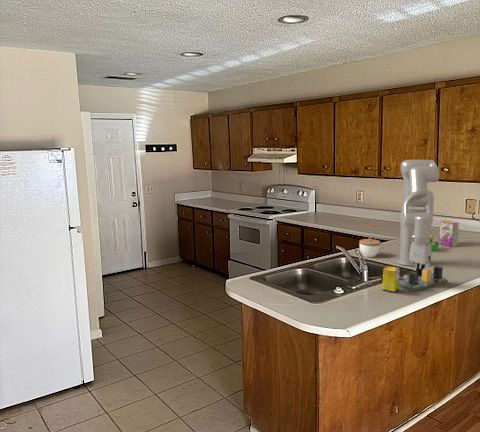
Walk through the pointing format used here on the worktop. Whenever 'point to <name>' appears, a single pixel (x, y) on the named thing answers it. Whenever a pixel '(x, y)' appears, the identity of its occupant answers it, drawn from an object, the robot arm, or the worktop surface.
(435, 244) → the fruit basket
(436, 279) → the compartment sorting tray
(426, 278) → the handle
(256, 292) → the worktop surface
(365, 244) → the lidded bowl
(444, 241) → the candy bar box
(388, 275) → the supplement box
